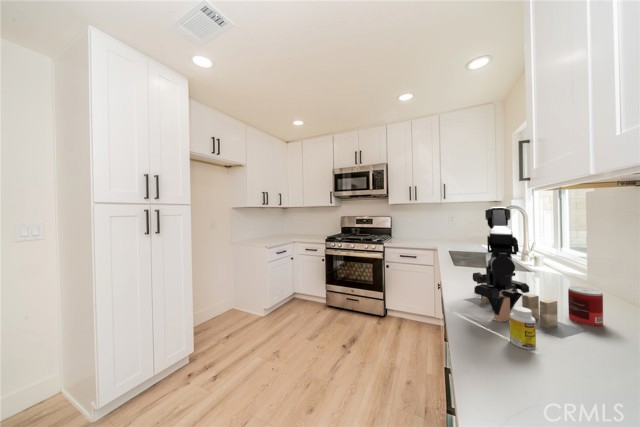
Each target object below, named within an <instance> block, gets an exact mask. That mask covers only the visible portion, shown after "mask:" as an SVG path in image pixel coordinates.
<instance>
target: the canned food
mask: <svg viewBox="0 0 640 427" xmlns="http://www.w3.org/2000/svg"><path fill="white" fill-rule="evenodd" d="M567 288H568V289H567V290H568V291H567V298H568V308H567V309H568V318H569V319H570V320H571V321H573V322H575V323H578V324H582V325H584V326H590V327H602V326H603V325H604V297H603V296H604V294H603V292H602V291H600V290H597V289H594V288H589V287H584V286H569V287H567Z"/></svg>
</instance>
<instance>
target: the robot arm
mask: <svg viewBox="0 0 640 427" xmlns="http://www.w3.org/2000/svg"><path fill="white" fill-rule="evenodd" d="M484 218H485V221H487V226H488V227H489V235H487V253H488V254H490V258H489V260H487V265H486V267H485V268H486V269H485V270H486V271H485V273H483V274H482V273H481V272H479V271H478V272H473V273H472V280H473V282H475V283H476V284H477V285H475V286H474V287H473V289H474V294H475V295H479V296H484V297H487V298H488V300H489V302H490V304H491V306H492V309H493V311H492V312H493V314H494V313H495V314H496V315H499V313H500V310H501V307H502V304H503V301H504V297H501V296H500V293H502V294H503V296H506V297H509V298H510V311H511V309H512V308H513V306H515V305H516V303H517V302H518V301H519V300H520V298H522V296H523V294H526V293H530V286H529V285H528V284H527V283H525V282H522V281H518V280H513V277H515V276H516V272H515V270H516V265H515V262H514V260H513V257H512V255H514V256H517V254H518V253H519V250H520V249H519V242H518V238H517V237H516V236H515V235H513V231H512V229H510V228H508V225H509V221H510V220H511V209H507V207H504V206H492V207H490V208H488V209H485V216H484ZM481 283H487V285H484V284H483V285H481ZM488 285H492V287H491V286H488ZM519 291H520V292H519Z"/></svg>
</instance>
